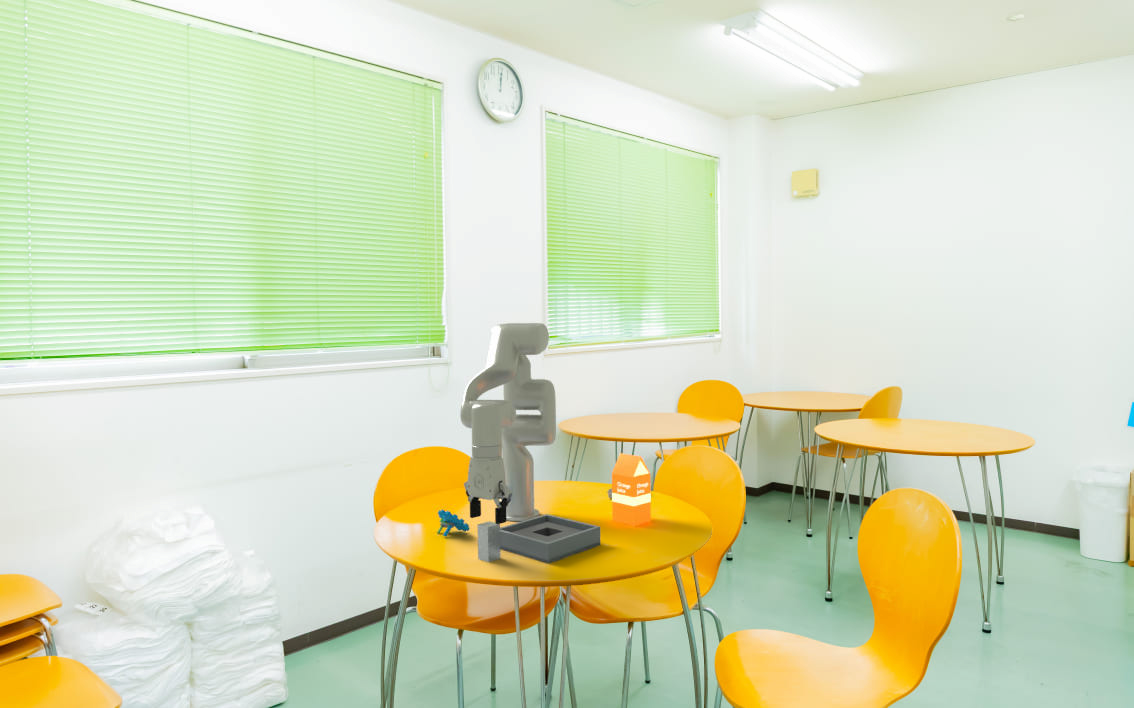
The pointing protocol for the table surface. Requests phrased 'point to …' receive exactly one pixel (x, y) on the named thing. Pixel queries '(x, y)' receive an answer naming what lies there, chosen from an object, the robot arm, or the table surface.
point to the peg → (488, 541)
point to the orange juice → (631, 491)
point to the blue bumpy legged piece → (451, 522)
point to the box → (549, 538)
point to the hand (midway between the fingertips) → (488, 519)
